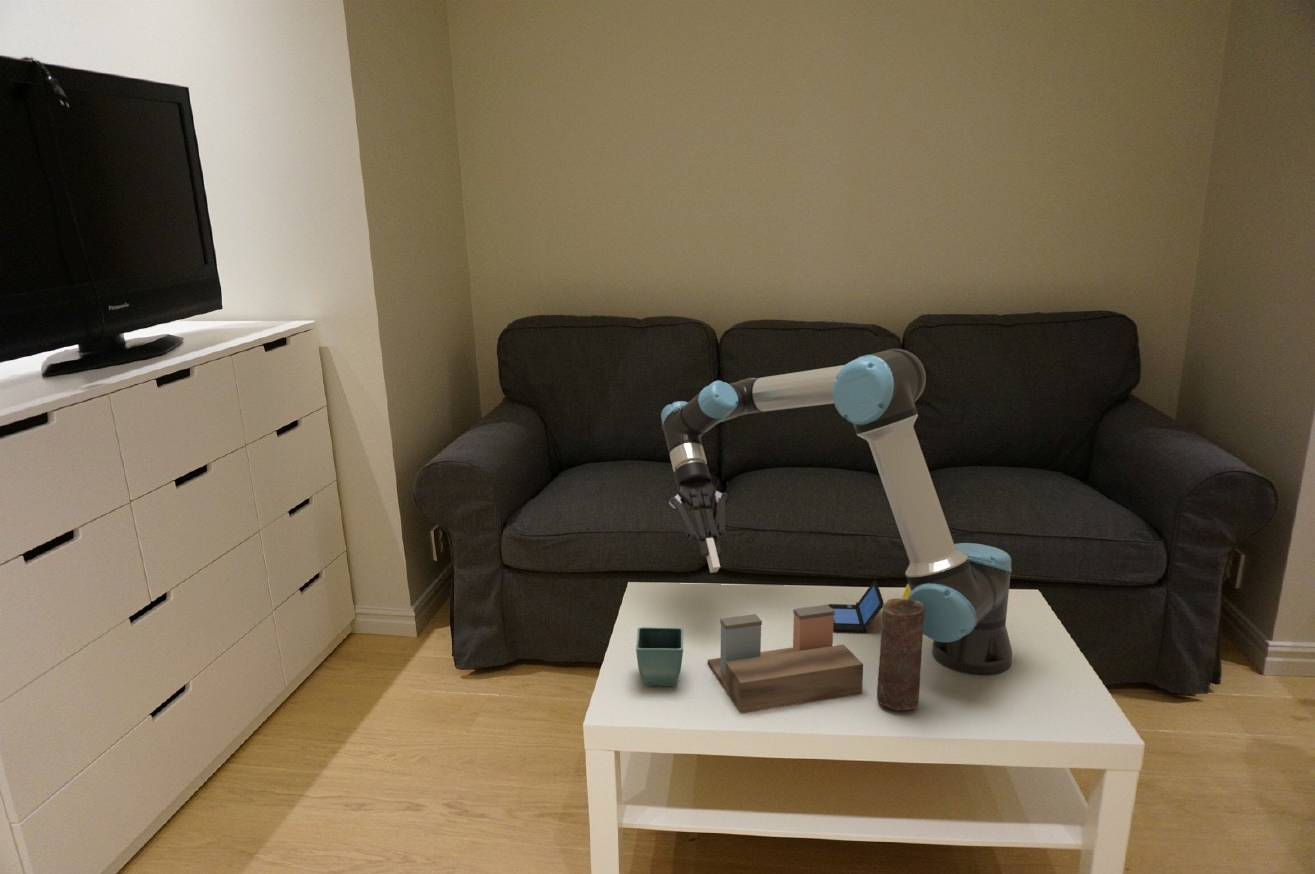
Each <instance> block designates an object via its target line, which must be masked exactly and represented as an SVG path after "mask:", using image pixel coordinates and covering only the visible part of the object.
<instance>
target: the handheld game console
mask: <svg viewBox="0 0 1315 874" xmlns="http://www.w3.org/2000/svg"><path fill="white" fill-rule="evenodd" d="M884 604H885V602H884V599H883V595H882V593H881V590H880V587H879V584H878V581H876V580H873V582H872V583H871V584H870V586H868V588H867V589H866V591H865V592H864V594H863V595H862V596H861V598H860V599H859V600H858V601H857V602H855V604H842V603H841V604H840V603H829V604H827V605H828V606H830V607H831V608H832V609H833V610H834V611H835V615H834V623H833V633H835V634H840V633H841V634H862V635H864V634H867V632H868V630H867V628H868V627H869V626H870V625H871V624H872V622H873V621H874V619H875V618H876V617H877V615H878V614H879V613H880V611H881V610H883V605H884Z"/></svg>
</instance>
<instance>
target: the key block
mask: <svg viewBox="0 0 1315 874" xmlns="http://www.w3.org/2000/svg"><path fill="white" fill-rule="evenodd" d="M720 659H721V657H717V658H711V659H707V666H708V665H709V666H708V667H709V669H710V670H711V673H713V674H715V675H714V676H715V677H716V679H717V680H718V682H719V683H720V685H721V687H722V688H723V690H724V691H725V692H726V694H727V696H728V697H729V698H731V699H730V700H731V702H732V703H733V705H734V706H735V708H736V707H737V708H736V709H737V710H738V713H740V714H744V713H749V711H750V712H755V711H761V710H767V709H773V708H779V707H785V706H791V705H798V704H805V703H810V702H819V701H823V700H828V699H830V700H831V699H835V698H843V697H849V696H853V695H854V696H855V695H860V694H861V693H862V694H863V680H864V679H863V678H864V677H863V676H864V663H863V662H862V661H861V660H860V659H859V658H858V657H857V656H856V655H855V654H854V653H853V652H852V651H851V650H850V649H849V648H848V647H846V645H845V644H837V645H833V646H830V647H823V648H816V649H809V650H803V651H796V652H793V646H792V647H785V648H779V649H773V650H765V651H761V654H760V657H755V658H748V659H741V660H734V661H727V662H726V669H725V675H724V674H723V672H722V671H721V669H720Z"/></svg>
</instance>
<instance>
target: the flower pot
mask: <svg viewBox="0 0 1315 874" xmlns="http://www.w3.org/2000/svg"><path fill="white" fill-rule="evenodd" d="M635 645H636V646H635V651H636V659H637V667H638V673H639V675H640V677H641V679H642V682H643V683H644V684H645V685H646V686H647V687H673V686H674V685H675V683H676V682H677V681H678V679H679V676H680V674H681V671H682V670H681V669H682V662H683V654H684V629H683V628H682V627H647V626H646V627H644V626H643V627H638V628H637V633H636V644H635Z"/></svg>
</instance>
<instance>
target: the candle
mask: <svg viewBox="0 0 1315 874" xmlns="http://www.w3.org/2000/svg"><path fill="white" fill-rule="evenodd" d="M924 611H925V607H924V605H923V603H922V602H919V601H915V600H911V599H904V600H902V598H895V597H894V598H889V599H887V601H885V602H884V605H883V607H882V612H881V613H882V615H881V629H880V630H881V631H880V633H881V634H880V648H879V649H880V650H879V657H878V658H879V659H878V671H877V672H878V673H877V674H878V677H877V688H876V699H877V701H878V702H879V704H880V705H884V706H886V707H888V708H890V709H893V710H895V711H901V710H902V711H904V710H912V709H913V710H914V709H916V708H917V707H918V706H919V699H920V687H921V685H920V683H921V669H922V668H921V667H922V665H921V664H922V653H923V652H922V650H923V648H922V647H923V640H924V639H923V637H924V635H923V624H924Z"/></svg>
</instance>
